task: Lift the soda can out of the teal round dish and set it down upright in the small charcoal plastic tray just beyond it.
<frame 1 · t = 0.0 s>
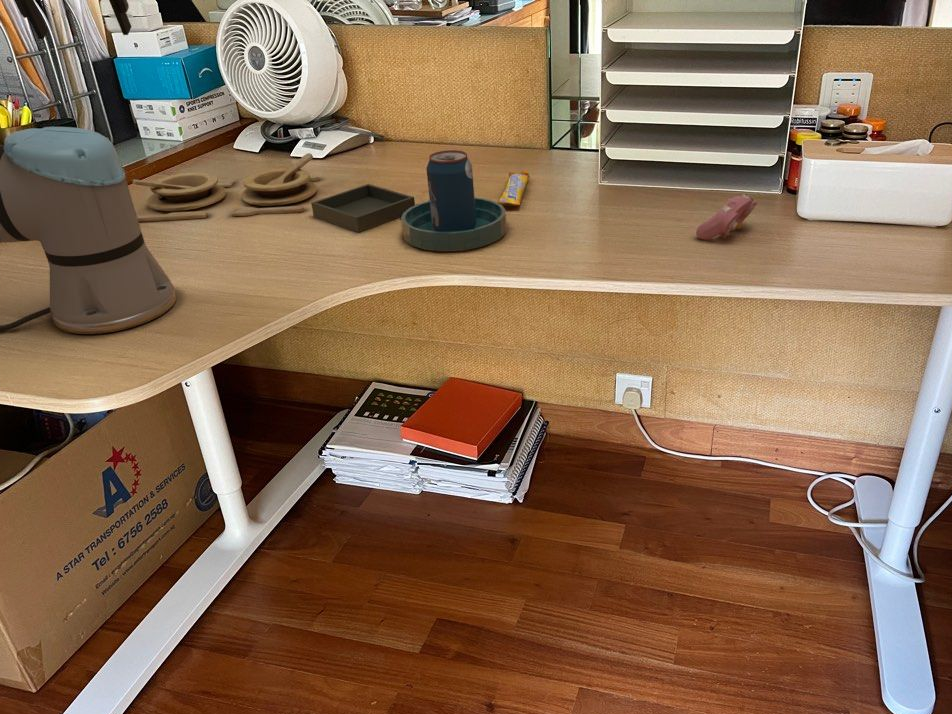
hand: (85, 33, 138), 28 cm above the table, tool tilted 20°, fingers open, 13 cm apart
tray: (364, 214, 141), on the table
tableware set: (234, 199, 151), on the table
teal round dish: (455, 233, 132), on the table
mauve toy shoe: (725, 234, 129), on the table
soda can: (455, 232, 132), resting on teal round dish
candy bar: (513, 196, 147), on the table
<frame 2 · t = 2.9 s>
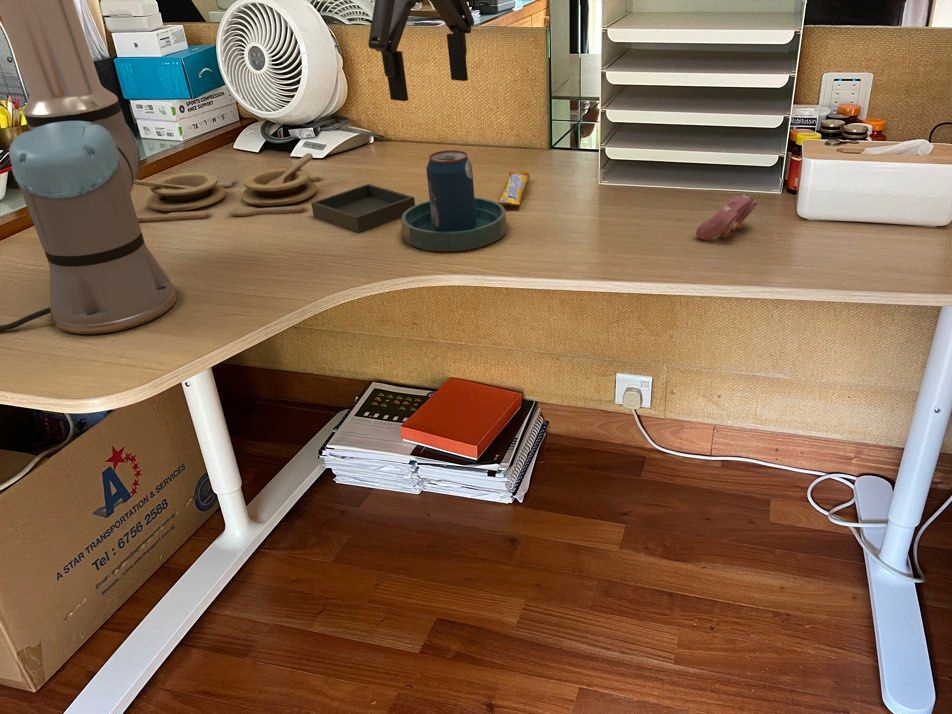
hand: (430, 89, 124), 21 cm above the table, tool pointing down, fingers open, 13 cm apart
nothing on the table moved.
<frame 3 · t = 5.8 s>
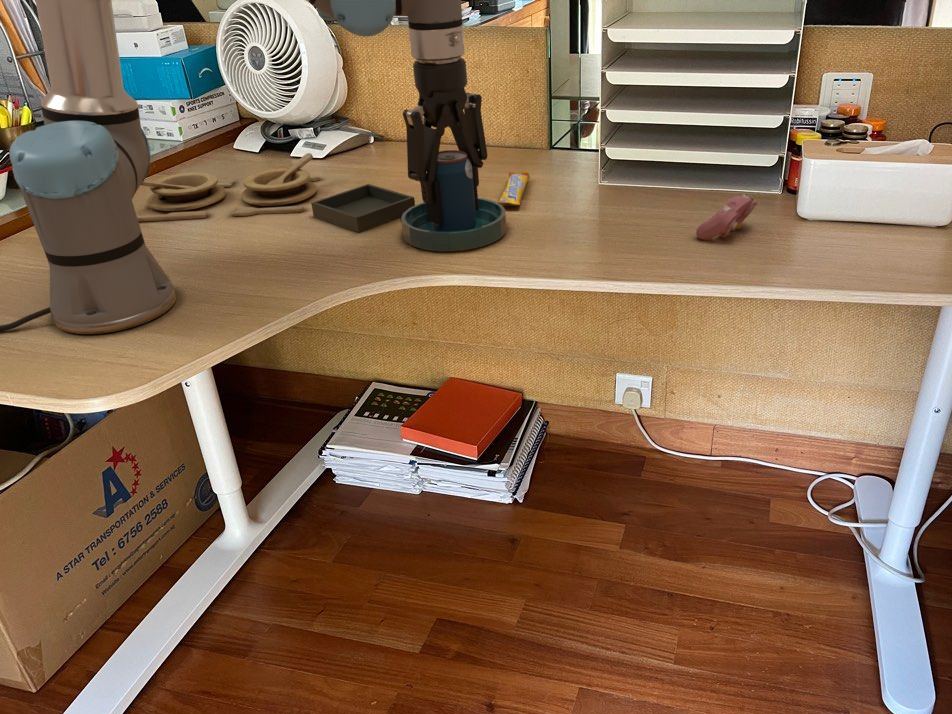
hand: (453, 214, 131), 3 cm above the table, tool pointing down, fingers closed on soda can, 7 cm apart
soda can: (455, 232, 132), resting on teal round dish, touching gripper
everything else where it was.
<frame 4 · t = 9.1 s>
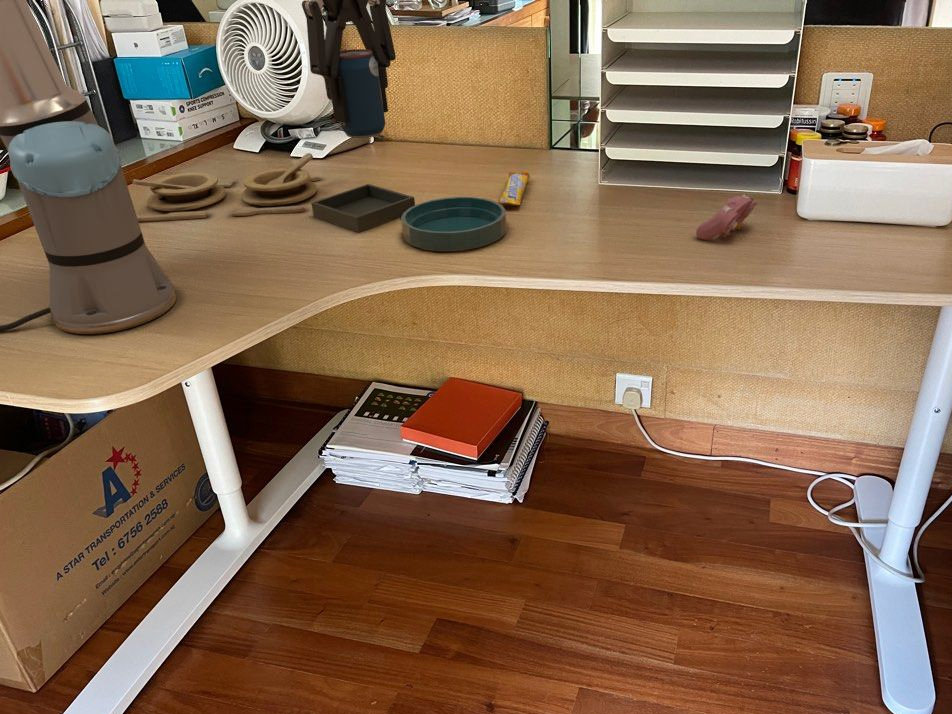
hand: (361, 115, 131), 17 cm above the table, tool pointing down, fingers closed on soda can, 7 cm apart
soda can: (364, 134, 133), point 14 cm above the table, touching gripper
everything else where it was.
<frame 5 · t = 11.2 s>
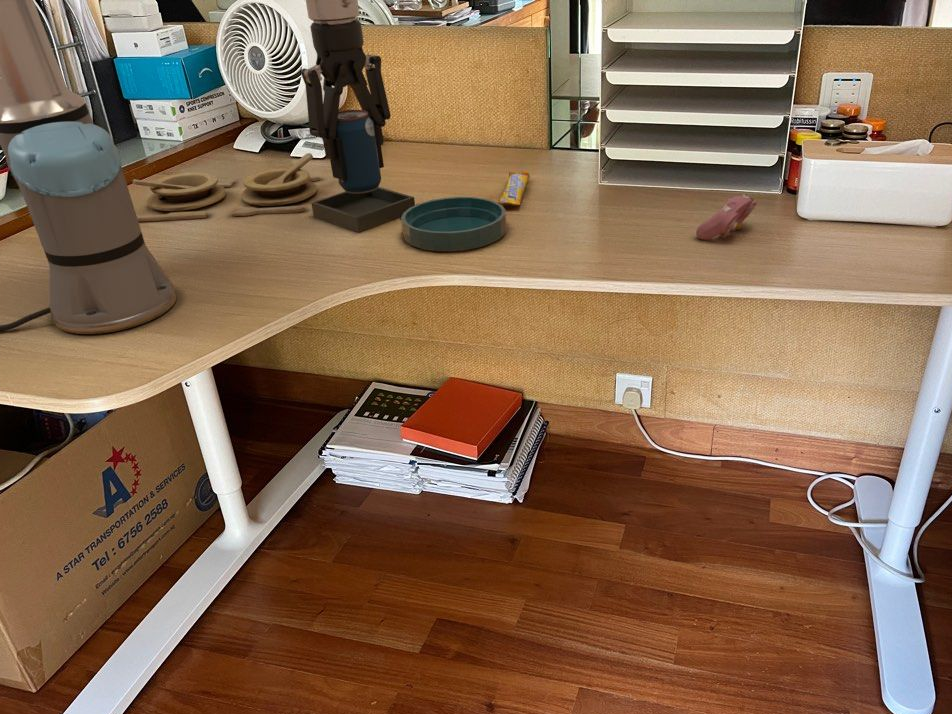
hand: (358, 171, 138), 7 cm above the table, tool pointing down, fingers closed on soda can, 7 cm apart
soda can: (361, 189, 139), point 4 cm above the table, touching gripper
everything else where it was.
when the fingers open (3 cm above the table, at t = 12.6 s): soda can stays where it is, resting on tray.
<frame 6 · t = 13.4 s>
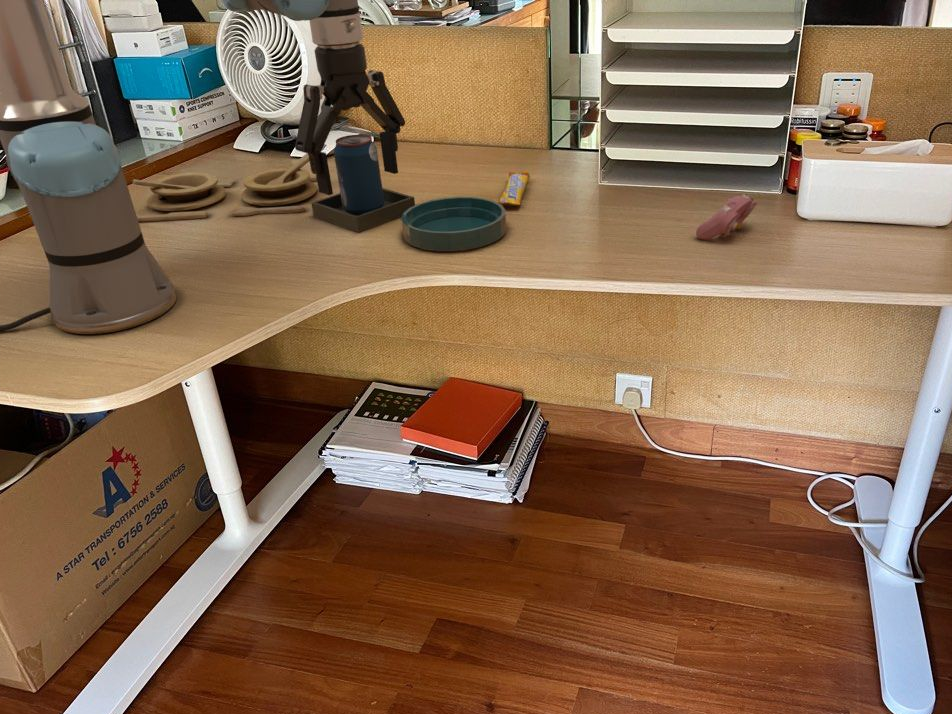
hand: (359, 182, 138), 5 cm above the table, tool pointing down, fingers open, 13 cm apart
soda can: (364, 212, 141), resting on tray
everything else where it was.
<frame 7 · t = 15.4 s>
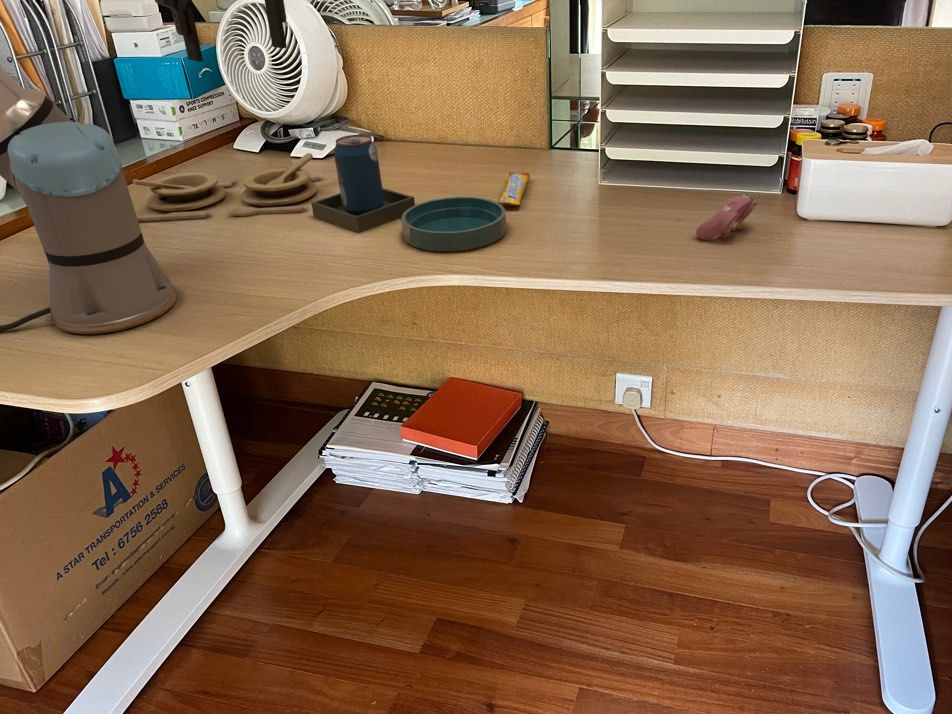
hand: (239, 53, 121), 27 cm above the table, tool pointing down, fingers open, 13 cm apart
nothing on the table moved.
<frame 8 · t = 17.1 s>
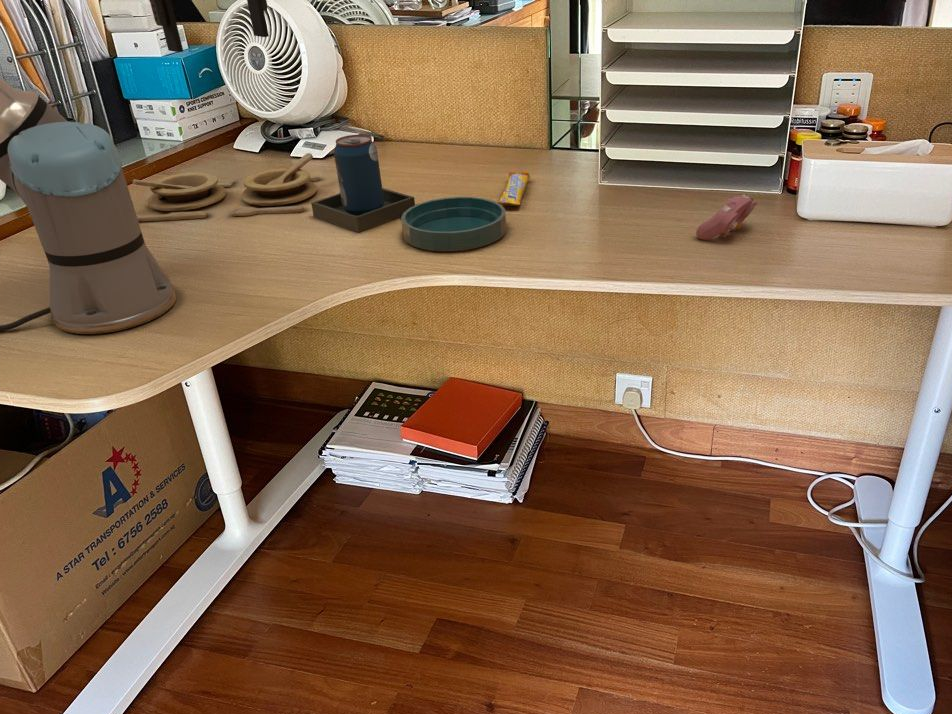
hand: (220, 43, 120), 29 cm above the table, tool pointing down, fingers open, 13 cm apart
nothing on the table moved.
at the end: soda can 0.0 cm off-centre in the tray, point 0.3 cm above the tray's base; soda can tilted 0°; the gripper is holding nothing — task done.
